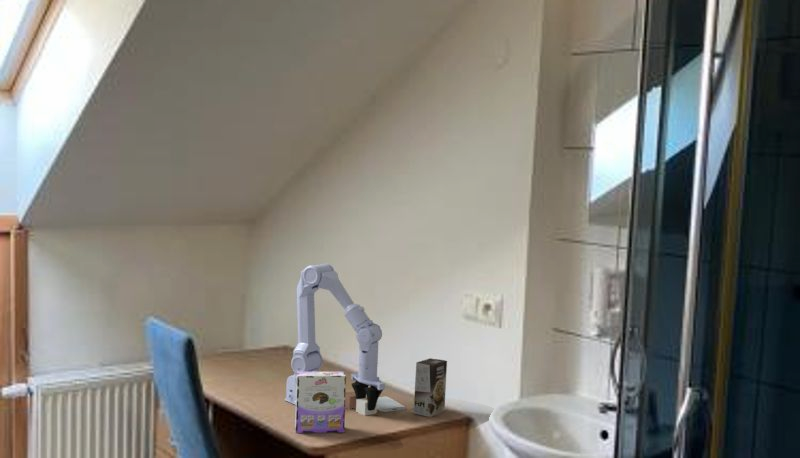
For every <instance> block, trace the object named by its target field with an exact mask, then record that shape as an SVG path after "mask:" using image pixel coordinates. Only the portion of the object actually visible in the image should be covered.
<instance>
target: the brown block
mask: <svg viewBox="0 0 800 458" xmlns="http://www.w3.org/2000/svg"><path fill="white" fill-rule="evenodd" d="M356 399H357V398H356V394H355V392H354V391H349V392H345V409H347V410H353V409H356ZM352 408H353V409H352Z"/></svg>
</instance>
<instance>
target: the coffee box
mask: <svg viewBox="0 0 800 458" xmlns="http://www.w3.org/2000/svg"><path fill="white" fill-rule="evenodd" d="M415 365H416V366H415V378H414V379H415V383H414V396H413V397H414V399H413V401H414V402H413V414H414V415H419V416H424V417H427V418H432V417H435V416H436V415H439V414H441V413H443V412H445V407H446V389H447V370H448V369H447V368H448V361H447V360H444V359H437V358H432V357H431V358H426V359H423V360H421V361H417V362H416V364H415Z"/></svg>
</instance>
